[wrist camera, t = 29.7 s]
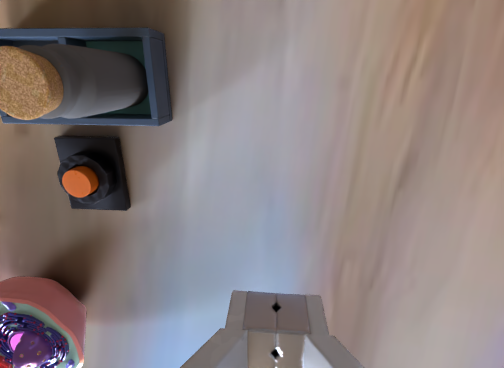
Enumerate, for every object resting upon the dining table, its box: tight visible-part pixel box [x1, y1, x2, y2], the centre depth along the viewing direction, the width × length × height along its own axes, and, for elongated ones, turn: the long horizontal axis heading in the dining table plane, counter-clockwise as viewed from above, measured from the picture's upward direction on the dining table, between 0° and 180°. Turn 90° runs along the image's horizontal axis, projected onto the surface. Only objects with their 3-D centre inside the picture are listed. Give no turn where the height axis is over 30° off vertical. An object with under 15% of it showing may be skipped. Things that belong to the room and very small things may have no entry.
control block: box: [54, 136, 131, 211], centre depth 37 cm, size 10×8×3 cm
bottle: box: [0, 44, 148, 120], centre depth 26 cm, size 6×6×15 cm
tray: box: [0, 28, 172, 126], centre depth 32 cm, size 10×18×4 cm, turn 90°
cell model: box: [0, 276, 87, 368], centre depth 42 cm, size 17×20×11 cm
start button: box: [62, 166, 99, 197], centre depth 35 cm, size 4×4×2 cm
